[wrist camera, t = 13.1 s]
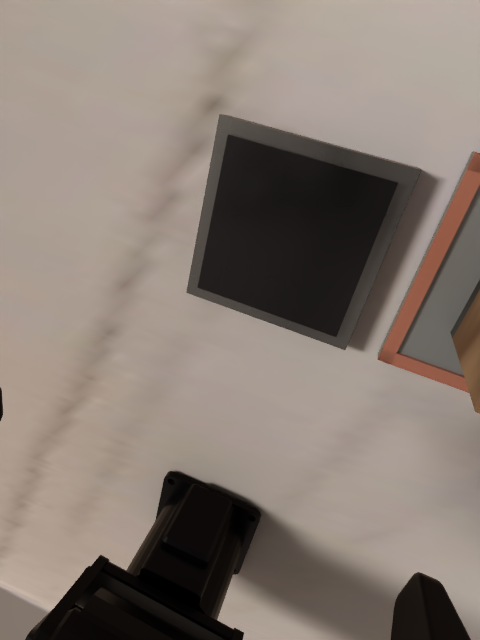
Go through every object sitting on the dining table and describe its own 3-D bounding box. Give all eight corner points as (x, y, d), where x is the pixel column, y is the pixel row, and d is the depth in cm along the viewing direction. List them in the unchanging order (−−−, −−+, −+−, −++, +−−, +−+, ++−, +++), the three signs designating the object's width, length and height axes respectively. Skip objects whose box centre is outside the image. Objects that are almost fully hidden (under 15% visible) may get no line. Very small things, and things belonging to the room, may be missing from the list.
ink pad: (346, 342, 20) (344, 353, 19) (193, 287, 21) (183, 294, 20) (419, 168, 16) (421, 170, 15) (226, 114, 17) (216, 114, 16)
